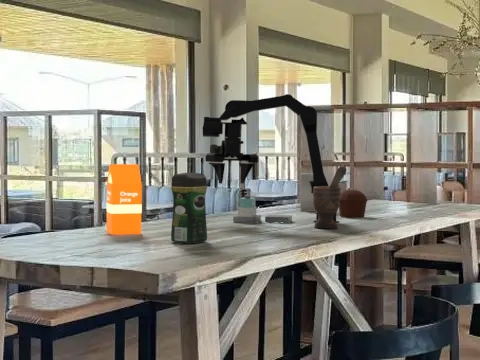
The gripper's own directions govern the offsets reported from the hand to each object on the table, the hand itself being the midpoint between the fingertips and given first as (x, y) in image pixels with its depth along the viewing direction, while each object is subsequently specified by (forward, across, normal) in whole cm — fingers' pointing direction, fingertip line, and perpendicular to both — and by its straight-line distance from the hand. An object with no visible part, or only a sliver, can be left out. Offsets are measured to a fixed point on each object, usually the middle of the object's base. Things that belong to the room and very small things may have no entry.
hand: (231, 183), depth 268 cm
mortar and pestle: (+13, -14, +35) cm, 39 cm away
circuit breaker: (+13, -57, -22) cm, 62 cm away
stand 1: (+13, -4, +4) cm, 14 cm away
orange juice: (+14, +48, +12) cm, 51 cm away
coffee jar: (+13, +44, +41) cm, 62 cm away
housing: (+11, -4, +4) cm, 12 cm away
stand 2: (+13, -13, +10) cm, 21 cm away
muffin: (+12, -50, +8) cm, 52 cm away
